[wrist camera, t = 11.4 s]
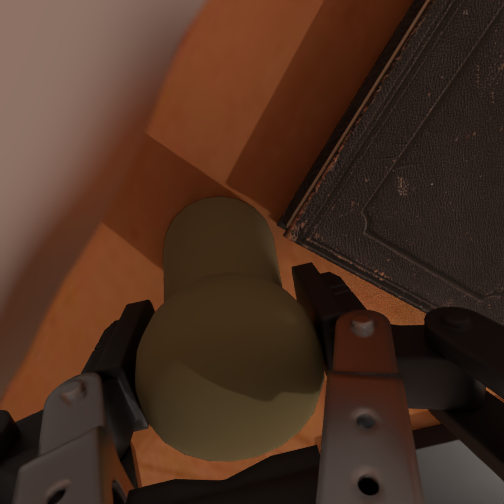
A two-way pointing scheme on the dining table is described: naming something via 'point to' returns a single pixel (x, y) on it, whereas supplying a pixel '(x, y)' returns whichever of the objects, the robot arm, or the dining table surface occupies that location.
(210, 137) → the dining table surface
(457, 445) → the dark grey button base
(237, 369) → the cork
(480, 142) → the hardcover book
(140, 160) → the dining table surface
